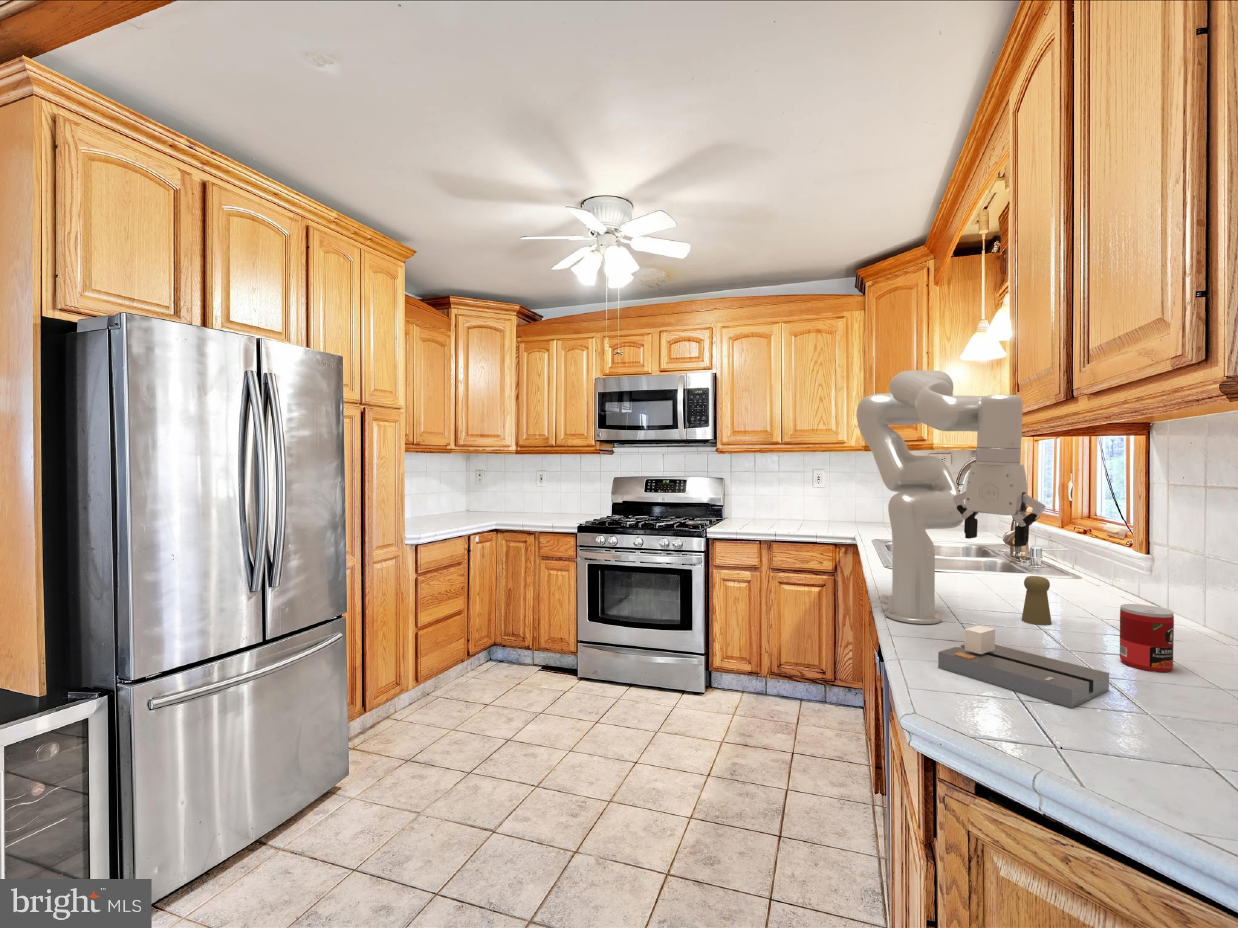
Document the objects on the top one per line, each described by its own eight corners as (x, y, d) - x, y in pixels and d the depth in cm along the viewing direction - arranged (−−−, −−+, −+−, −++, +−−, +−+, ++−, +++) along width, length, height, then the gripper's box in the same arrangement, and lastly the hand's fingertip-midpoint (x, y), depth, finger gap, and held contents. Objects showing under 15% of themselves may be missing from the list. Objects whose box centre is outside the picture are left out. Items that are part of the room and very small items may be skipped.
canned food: (1159, 675, 112) (1160, 615, 112) (1110, 661, 120) (1110, 605, 119) (1182, 669, 115) (1183, 611, 115) (1132, 656, 123) (1133, 602, 123)
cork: (1056, 625, 144) (1057, 579, 144) (1028, 624, 146) (1028, 578, 146) (1044, 619, 150) (1044, 574, 150) (1017, 617, 152) (1017, 573, 151)
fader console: (938, 667, 116) (938, 650, 116) (977, 654, 124) (977, 639, 124) (1071, 708, 98) (1072, 688, 98) (1108, 690, 105) (1109, 671, 105)
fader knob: (964, 660, 117) (964, 629, 117) (978, 655, 119) (978, 625, 119) (980, 664, 114) (981, 633, 114) (994, 660, 117) (995, 628, 117)
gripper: (945, 455, 128) (942, 536, 129) (1035, 459, 113) (1031, 551, 114) (966, 454, 131) (963, 533, 132) (1056, 458, 116) (1052, 547, 117)
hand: (994, 541), depth 123 cm, fingers open, 9 cm apart
